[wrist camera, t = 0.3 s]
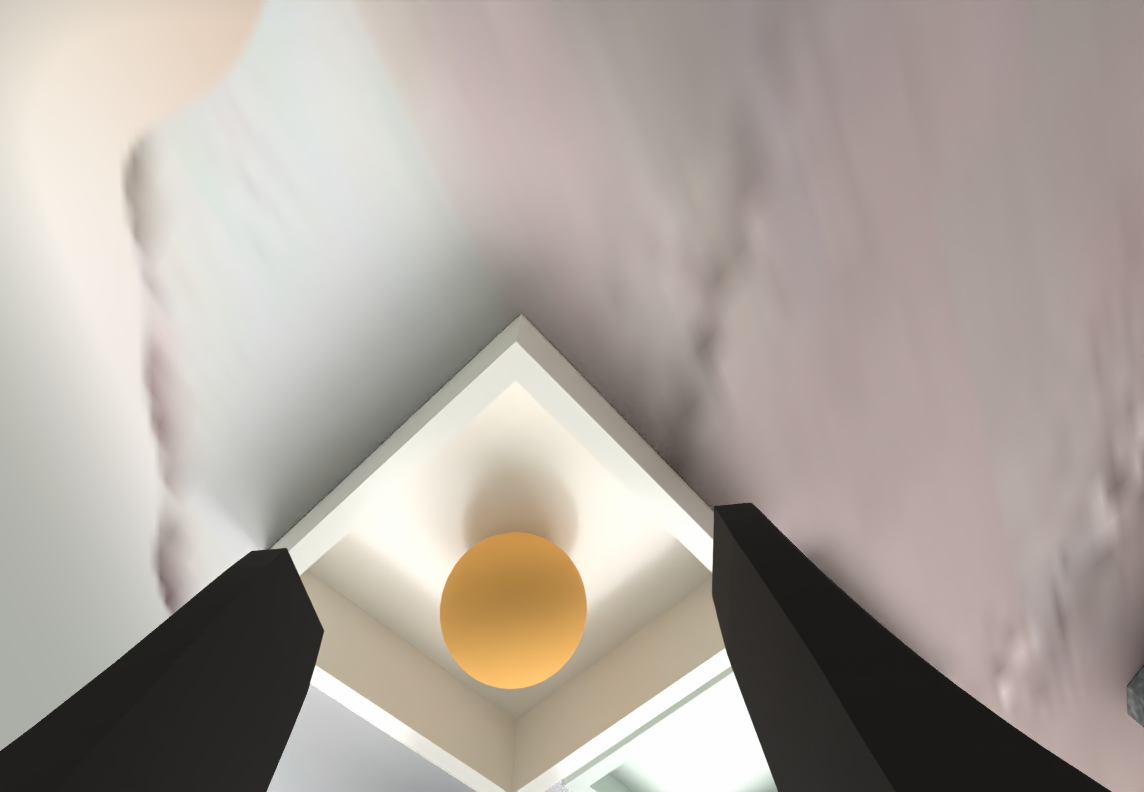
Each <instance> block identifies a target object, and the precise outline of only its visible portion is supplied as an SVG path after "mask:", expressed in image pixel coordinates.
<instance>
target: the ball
mask: <svg viewBox="0 0 1144 792" xmlns="http://www.w3.org/2000/svg"><path fill="white" fill-rule="evenodd" d="M586 616H587V599H586V593H585V588H584V584H583V581H582V578H581V576H580V573H579V571H578V570H577V568H576V566H575V564H574V563H573V562H572V560H571V559H570V558H569V556H568V555H567V554H566V553H565V552H564V551H563V550H562V549H561V548H559V547H558V546H557V545H555V544H554V543H553V542H551V541H549V540H547V539H545V538H543V537H541V536H537V535H534V534H530V533H524V532H509V533H502V534H498V535H494V536H491V537H489V538H486V539H484V540H483V541H481V542H479V543H477V544H476V545H475V546H473V547H472V548H470V549H469V550H468V551H467V552H466V553H465V554H464V555H463V556H462V557H461V558H460V559H459V560H458V562H457V563H456V564H455V566H454V567H453V569H452V571H451V573H450V574H449V576H448V578H447V581H446V583H445V586H444V589H443V592H442V597H441V603H440V624H441V630H442V635H443V638H444V641H445V644H446V646H447V648H448V650H449V652H450V654H451V656H452V657H453V658H454V660H455V661H456V662H457V664H458V665H459V666H460V667H461V668H462V669H463V670H464V671H465V672H466V673H467V674H469V675H470V676H471V677H473V678H474V679H476V680H477V681H479V682H482V683H484V684H486V685H489V686H493V687H497V688H504V689H518V688H525V687H529V686H532V685H535V684H538V683H540V682H542V681H544V680H546V679H547V678H549V677H551V676H552V675H554V674H555V673H556V672H557V671H559V670H560V669H561V668H562V667H563V666H564V665H565V664H566V662H567V661H568V660H569V659H570V658H571V656H572V655H573V653H574V652H575V650H576V648H577V646H578V644H579V642H580V640H581V637H582V634H583V631H584V628H585V622H586Z"/></svg>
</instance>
